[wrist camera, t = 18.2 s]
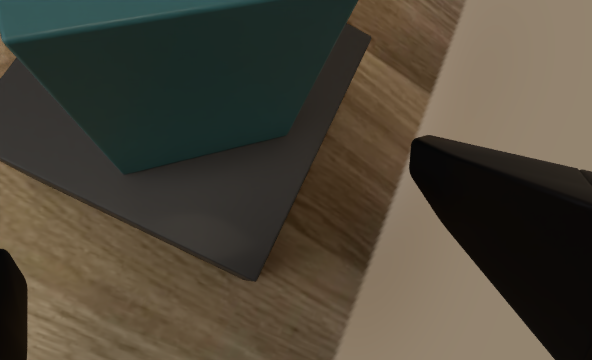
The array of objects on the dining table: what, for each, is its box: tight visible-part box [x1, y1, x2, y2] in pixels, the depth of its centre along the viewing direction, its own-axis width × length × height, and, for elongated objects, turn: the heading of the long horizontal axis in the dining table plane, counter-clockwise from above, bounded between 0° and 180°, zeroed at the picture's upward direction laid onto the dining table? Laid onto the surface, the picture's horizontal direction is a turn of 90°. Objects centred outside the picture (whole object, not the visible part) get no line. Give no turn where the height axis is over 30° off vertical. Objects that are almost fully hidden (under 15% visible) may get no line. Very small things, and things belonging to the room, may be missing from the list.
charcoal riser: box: [0, 23, 371, 282], centre depth 17 cm, size 10×10×5 cm
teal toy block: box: [0, 0, 358, 174], centre depth 11 cm, size 6×6×8 cm
